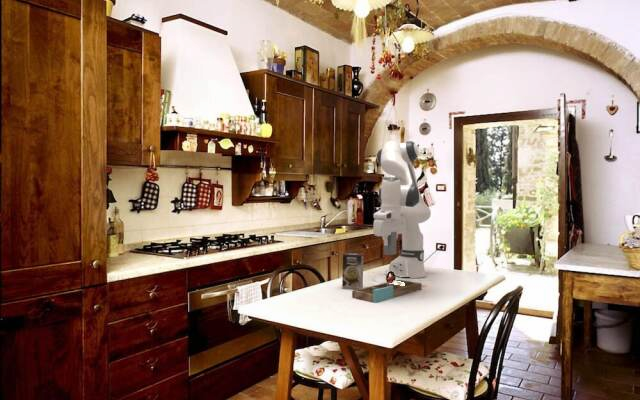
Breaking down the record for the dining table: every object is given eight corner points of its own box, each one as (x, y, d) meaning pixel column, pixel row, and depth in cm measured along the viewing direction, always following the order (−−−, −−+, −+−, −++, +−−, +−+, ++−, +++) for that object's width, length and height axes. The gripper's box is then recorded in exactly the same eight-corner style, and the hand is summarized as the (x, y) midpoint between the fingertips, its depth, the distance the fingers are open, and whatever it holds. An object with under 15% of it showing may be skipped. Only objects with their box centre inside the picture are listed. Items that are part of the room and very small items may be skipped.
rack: (352, 297, 196) (352, 286, 196) (399, 285, 221) (399, 275, 221) (375, 302, 187) (375, 290, 187) (421, 289, 212) (421, 279, 212)
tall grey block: (383, 254, 203) (384, 231, 203) (388, 253, 206) (389, 231, 206) (391, 255, 201) (391, 232, 200) (396, 254, 204) (396, 231, 203)
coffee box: (341, 288, 214) (342, 254, 214) (344, 285, 220) (344, 252, 220) (361, 289, 212) (361, 255, 211) (363, 286, 218) (363, 253, 218)
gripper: (397, 212, 213) (397, 242, 213) (371, 214, 198) (370, 246, 198) (409, 213, 208) (408, 243, 209) (383, 215, 193) (382, 247, 194)
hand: (390, 245), depth 203 cm, fingers closed on tall grey block, 4 cm apart
